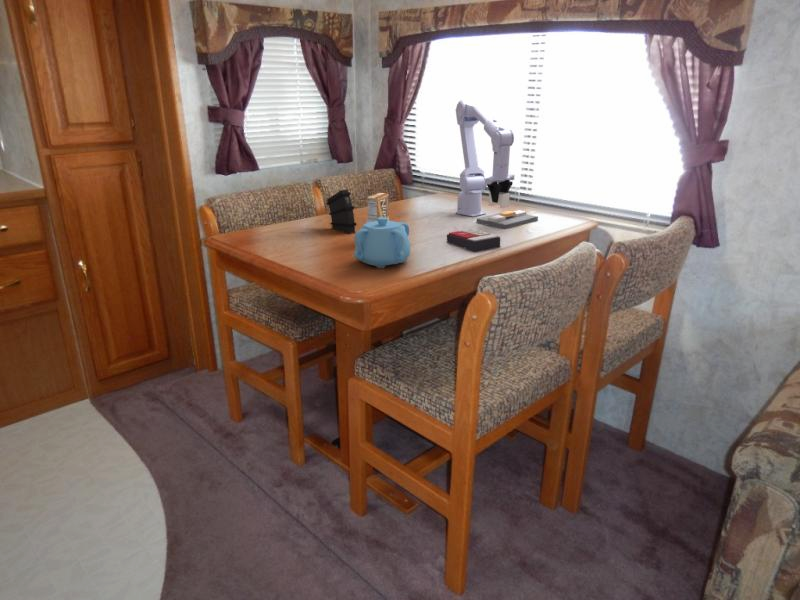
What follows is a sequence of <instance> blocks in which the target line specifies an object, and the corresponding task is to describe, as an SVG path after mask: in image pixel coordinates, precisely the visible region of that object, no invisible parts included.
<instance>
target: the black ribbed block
mask: <svg viewBox="0 0 800 600" xmlns="http://www.w3.org/2000/svg"><path fill="white" fill-rule="evenodd" d="M351 195H352V193H351V191H349V189H347V188H346V189H341V190H339V191H338V192H336V193H334V194H333V195H331V196H330V197H329V198H327V199H326V201H327V202H326V205H327V206H328V207H329V211H330V213H329V214H328V215H329V216H330V218H331V222H330V223H329V224H330V225H331V228H332V229H333V230H336V231H338V232H342V233H346V234H348V235H350V234H353V233H354V234H355V233H356V226H357V222H355V215H354V209H355V206H354V205H353V203H352V199H351Z"/></svg>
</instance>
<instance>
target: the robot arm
mask: <svg viewBox="0 0 800 600" xmlns="http://www.w3.org/2000/svg"><path fill="white" fill-rule="evenodd" d="M455 107H456V108H455V114H456V115H455V116H456V122H457V125H459V132H460V141H461V147H462V154H463V161H464V162H463V163H464V168H465V169H463V171H461V173H460V174H459V188H460V190H461V191H460V192H459V193H458V195H457V211H456V212H455V214H458V215H464V216H468V217H479V216H482V215H486V212H484V211H482V202H483V201H482V196H483V193H484V191H485V190H486V188H488V191H489V192H490V193H491V198H492V202H495V203H497V202H498V198H499V192H504V193H509V191H510V189H511V188H512V185H513V181H515V177H516V176H515V174H511V173H510V174H509V166H510V152H511V146H513V144H514V140H515V136H514V133H513V131H512V130H511V129H507V128H506V129H505V127H504V126H503V125H502V124H501V122H499V119H498V118H494V117H493V118H492V117H491V116H490V114H489V113H488V112H487V110H486V104H485V103H484V101H482V100H481V99H479V100H459V101H458V102H457V104H456V106H455ZM479 122H480V123H481V124H482V125H483V130H484V131H485V133H486V134H487V136H488V137H489V138H490V142H491V147H492V152H493V162H492V163H493V164H492V176H489V177H486V175H485V171H484V170H483V169H482V168H481V167H480V166H479V163H478V156H477V154H478V153H477V148H476V140H475V139H476V138H475V132H474V126H475V125H477V124H478V123H479Z"/></svg>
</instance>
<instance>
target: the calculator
mask: <svg viewBox="0 0 800 600" xmlns="http://www.w3.org/2000/svg"><path fill="white" fill-rule="evenodd" d="M446 242H447V243H449V244H452V245H454V246H457V247H461V248H462V249H463V248H464V249H465V250H468V251H471V252H473V253H477V252H481V251H486V250H492V249H496V248H501V236H499V235H498V234H497V235H496V234H493V233H490V232H488V231H487V232H486V231H481V230H477V229H473V228H470V229H463V230H458V231H457V230H456V231H453V232H452V231H451V232H448V234H446Z"/></svg>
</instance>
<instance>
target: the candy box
mask: <svg viewBox="0 0 800 600" xmlns="http://www.w3.org/2000/svg"><path fill="white" fill-rule="evenodd" d="M366 199H367V203H366V204H367V222H369V221H370V222H375V221H377V218H379V217H386V218H388V221H390V217H389V216H390V194H389V193H385V192H378V193H375V194H373V195H369V196H367V197H366Z"/></svg>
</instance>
